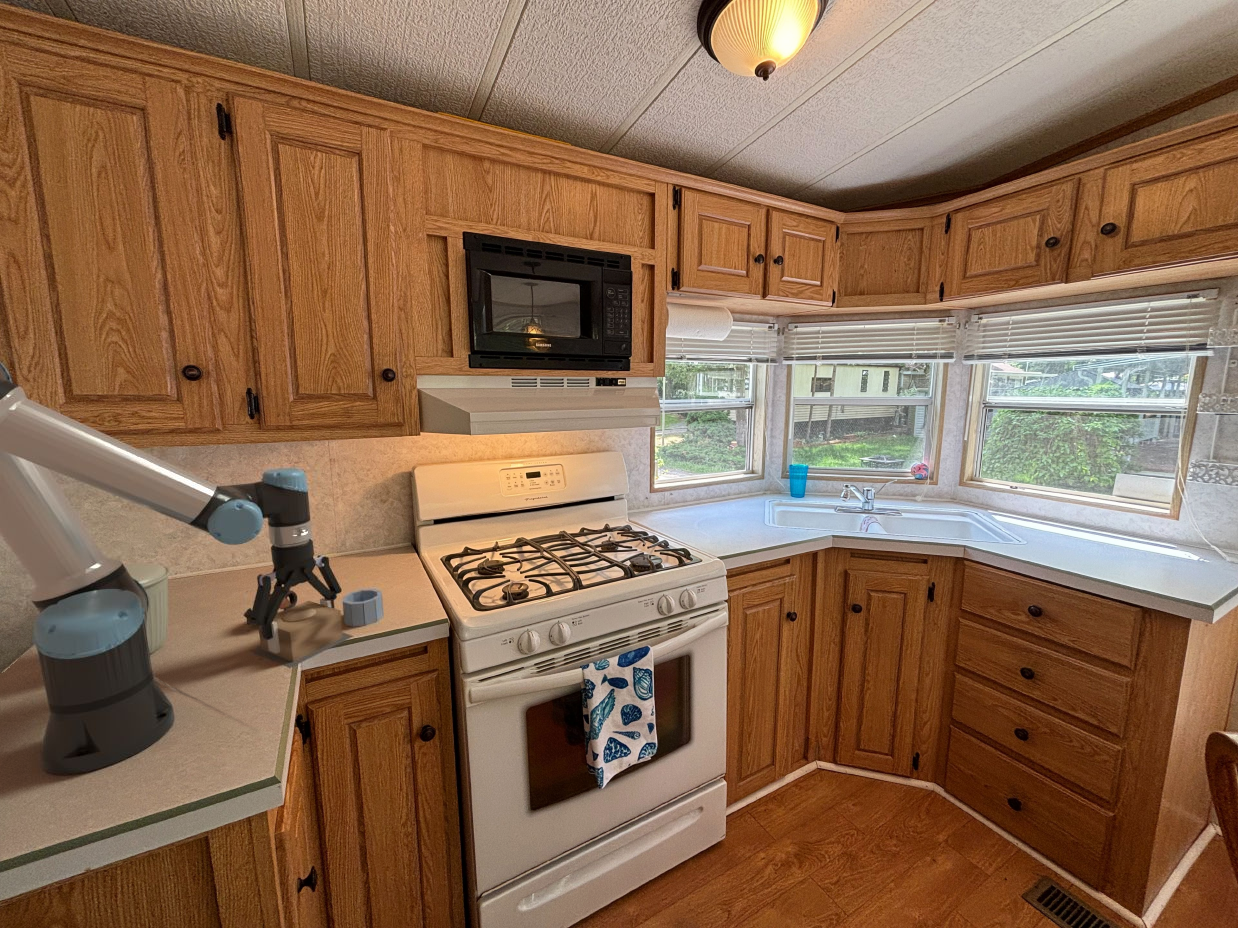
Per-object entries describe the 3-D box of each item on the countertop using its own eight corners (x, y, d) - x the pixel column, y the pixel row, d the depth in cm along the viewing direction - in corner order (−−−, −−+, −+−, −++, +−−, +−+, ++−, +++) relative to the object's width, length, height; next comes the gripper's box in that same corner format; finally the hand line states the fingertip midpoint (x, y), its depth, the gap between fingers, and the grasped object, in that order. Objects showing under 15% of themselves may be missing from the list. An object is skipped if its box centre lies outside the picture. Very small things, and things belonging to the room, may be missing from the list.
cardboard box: (293, 661, 104) (289, 630, 102) (261, 649, 108) (257, 619, 107) (342, 637, 113) (340, 608, 112) (311, 626, 118) (308, 599, 117)
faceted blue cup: (361, 630, 117) (359, 606, 116) (336, 622, 121) (333, 599, 120) (391, 615, 125) (389, 592, 124) (367, 608, 128) (365, 586, 127)
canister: (169, 663, 103) (154, 565, 100) (43, 690, 95) (21, 583, 91) (190, 626, 119) (177, 539, 115) (83, 645, 110) (66, 552, 107)
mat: (290, 669, 102) (290, 667, 102) (249, 652, 108) (249, 650, 108) (353, 637, 114) (353, 635, 114) (313, 624, 120) (313, 622, 120)
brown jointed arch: (285, 635, 116) (259, 609, 113) (255, 648, 118) (229, 623, 115) (316, 600, 127) (293, 576, 124) (288, 613, 129) (266, 589, 126)
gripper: (241, 562, 95) (254, 670, 99) (354, 529, 116) (361, 619, 119) (218, 556, 98) (232, 660, 102) (332, 525, 119) (340, 612, 123)
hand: (302, 638), depth 111 cm, fingers closed on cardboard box, 11 cm apart
